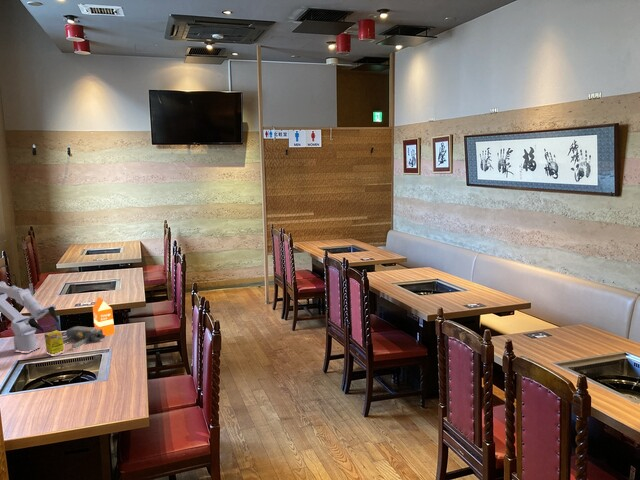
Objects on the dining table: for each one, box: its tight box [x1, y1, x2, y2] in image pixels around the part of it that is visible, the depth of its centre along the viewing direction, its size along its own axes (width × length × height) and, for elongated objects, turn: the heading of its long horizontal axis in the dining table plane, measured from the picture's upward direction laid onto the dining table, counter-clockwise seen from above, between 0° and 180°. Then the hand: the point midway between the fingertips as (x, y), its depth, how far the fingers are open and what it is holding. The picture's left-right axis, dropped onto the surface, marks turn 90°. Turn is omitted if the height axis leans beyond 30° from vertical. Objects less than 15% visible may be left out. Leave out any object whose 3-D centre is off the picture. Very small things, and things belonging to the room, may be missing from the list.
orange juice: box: [92, 296, 115, 337], centre depth 269 cm, size 8×9×20 cm
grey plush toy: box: [63, 325, 106, 349], centre depth 258 cm, size 21×17×6 cm
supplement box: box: [44, 329, 65, 354], centre depth 244 cm, size 6×6×11 cm
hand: (50, 325), depth 237 cm, fingers open, 7 cm apart
